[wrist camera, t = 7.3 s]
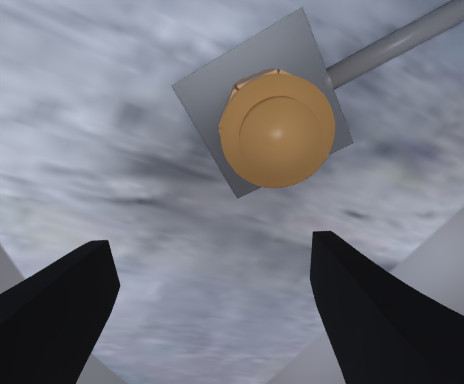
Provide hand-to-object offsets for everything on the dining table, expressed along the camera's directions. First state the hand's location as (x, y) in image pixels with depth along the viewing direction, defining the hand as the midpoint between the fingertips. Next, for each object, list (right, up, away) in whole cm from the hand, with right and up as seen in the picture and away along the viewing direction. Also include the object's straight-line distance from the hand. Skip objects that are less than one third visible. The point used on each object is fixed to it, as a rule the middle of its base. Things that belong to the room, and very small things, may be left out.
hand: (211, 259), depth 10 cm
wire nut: (+3, +7, +7) cm, 10 cm away
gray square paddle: (+7, +10, +6) cm, 14 cm away
